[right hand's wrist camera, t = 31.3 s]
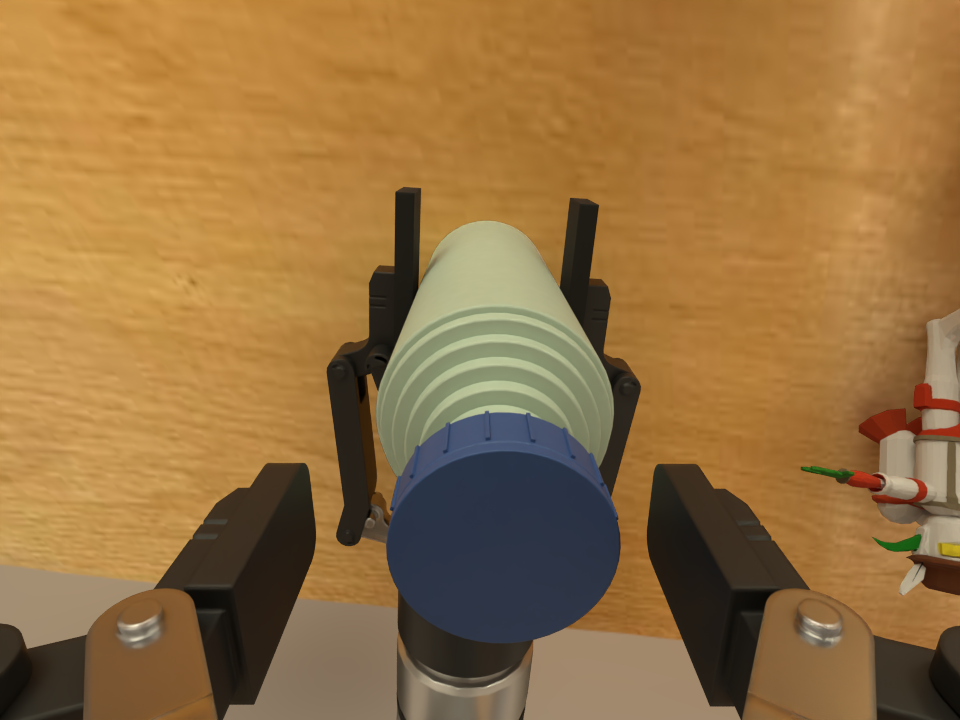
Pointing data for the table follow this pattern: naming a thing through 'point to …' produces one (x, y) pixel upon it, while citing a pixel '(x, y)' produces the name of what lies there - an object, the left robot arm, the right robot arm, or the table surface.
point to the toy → (921, 466)
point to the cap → (502, 529)
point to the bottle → (490, 347)
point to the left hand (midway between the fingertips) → (496, 196)
